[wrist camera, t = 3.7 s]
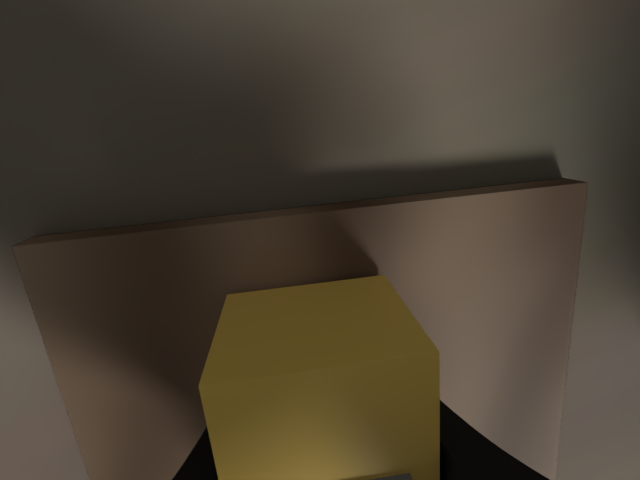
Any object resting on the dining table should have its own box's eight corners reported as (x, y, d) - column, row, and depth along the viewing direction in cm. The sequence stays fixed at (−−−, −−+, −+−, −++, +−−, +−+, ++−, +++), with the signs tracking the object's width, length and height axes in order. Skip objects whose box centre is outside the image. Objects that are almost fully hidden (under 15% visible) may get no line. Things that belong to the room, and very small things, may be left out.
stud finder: (384, 274, 11) (443, 356, 7) (393, 487, 13) (441, 639, 9) (226, 294, 11) (196, 391, 7) (264, 509, 13) (258, 675, 9)
